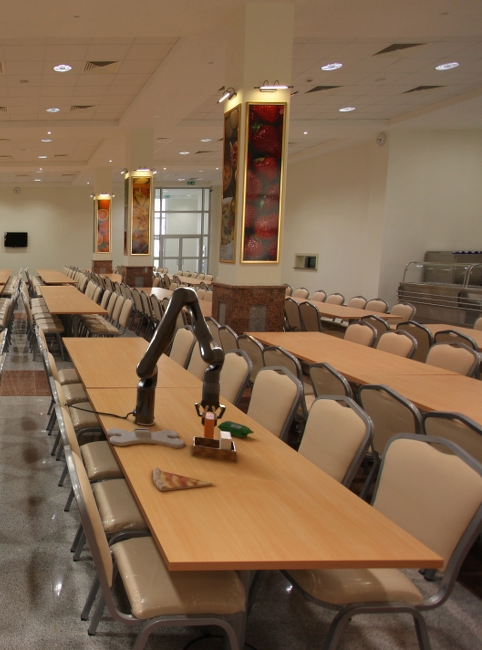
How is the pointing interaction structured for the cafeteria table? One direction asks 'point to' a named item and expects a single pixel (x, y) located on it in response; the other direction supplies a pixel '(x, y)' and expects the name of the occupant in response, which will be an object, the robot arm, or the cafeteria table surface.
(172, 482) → the pizza slice
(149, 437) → the holder
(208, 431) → the block
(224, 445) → the block
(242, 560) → the cafeteria table surface
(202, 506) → the cafeteria table surface
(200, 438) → the brown wooden tray
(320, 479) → the cafeteria table surface
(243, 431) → the snack package
